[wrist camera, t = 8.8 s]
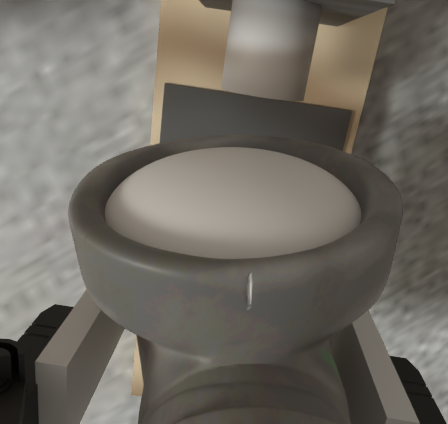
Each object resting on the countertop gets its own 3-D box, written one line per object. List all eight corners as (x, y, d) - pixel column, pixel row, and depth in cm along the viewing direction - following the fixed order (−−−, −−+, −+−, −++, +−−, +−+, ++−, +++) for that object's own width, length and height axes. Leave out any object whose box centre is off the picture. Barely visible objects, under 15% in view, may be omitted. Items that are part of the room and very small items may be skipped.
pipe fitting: (109, 119, 14) (-102, 353, 5) (349, 120, 14) (600, 348, 5) (140, 374, 19) (71, 711, 10) (312, 373, 19) (396, 705, 10)
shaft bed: (283, 400, 28) (297, 560, 19) (137, 377, 28) (84, 525, 19) (383, -12, 19) (497, -73, 10) (171, -43, 19) (102, -129, 10)
